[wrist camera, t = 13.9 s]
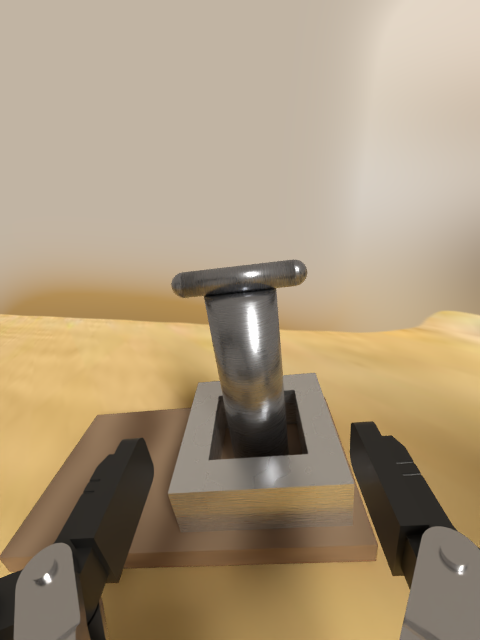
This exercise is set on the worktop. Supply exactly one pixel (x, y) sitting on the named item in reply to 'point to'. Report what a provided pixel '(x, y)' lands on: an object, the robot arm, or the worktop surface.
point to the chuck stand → (219, 489)
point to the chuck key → (247, 348)
